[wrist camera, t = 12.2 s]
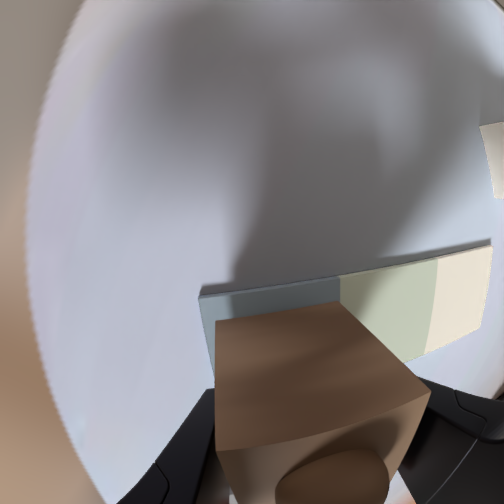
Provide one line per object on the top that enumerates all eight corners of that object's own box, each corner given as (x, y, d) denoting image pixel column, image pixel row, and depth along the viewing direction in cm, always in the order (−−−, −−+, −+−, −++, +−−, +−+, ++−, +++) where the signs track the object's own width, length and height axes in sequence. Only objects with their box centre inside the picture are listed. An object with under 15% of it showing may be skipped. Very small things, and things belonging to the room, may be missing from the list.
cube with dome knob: (337, 300, 9) (475, 436, 2) (334, 390, 10) (408, 519, 3) (215, 320, 8) (219, 528, 2) (233, 409, 9) (253, 564, 3)
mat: (489, 244, 11) (492, 245, 10) (476, 326, 12) (479, 327, 11) (198, 295, 9) (197, 298, 9) (221, 401, 10) (221, 405, 10)
